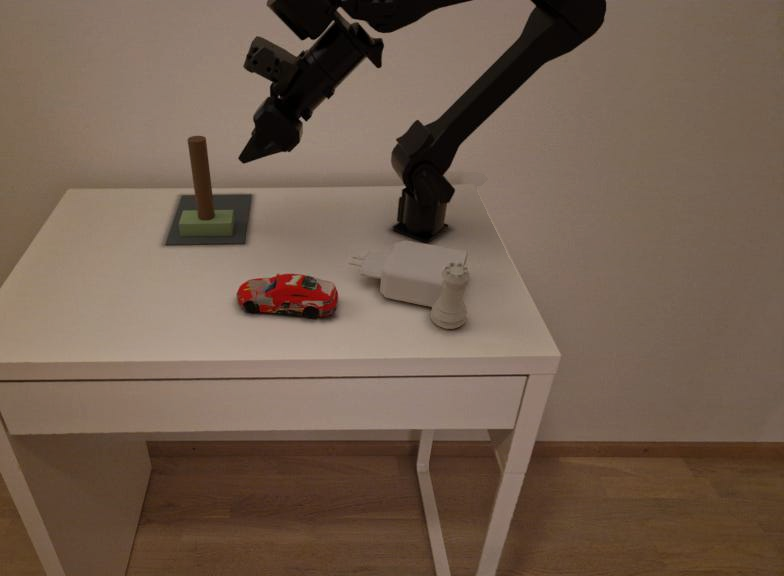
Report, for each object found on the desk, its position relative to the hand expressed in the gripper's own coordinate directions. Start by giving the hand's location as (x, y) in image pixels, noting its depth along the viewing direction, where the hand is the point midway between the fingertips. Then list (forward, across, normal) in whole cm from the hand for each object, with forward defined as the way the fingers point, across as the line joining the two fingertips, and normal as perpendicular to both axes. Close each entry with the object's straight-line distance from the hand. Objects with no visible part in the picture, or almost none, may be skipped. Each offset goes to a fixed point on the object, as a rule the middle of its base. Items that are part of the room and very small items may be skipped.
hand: (247, 148), depth 84 cm
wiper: (+14, 0, +4) cm, 15 cm away
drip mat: (+15, -4, +4) cm, 16 cm away
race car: (+4, +19, +15) cm, 25 cm away
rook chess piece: (-11, +20, +30) cm, 37 cm away
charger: (-7, +12, +26) cm, 29 cm away
